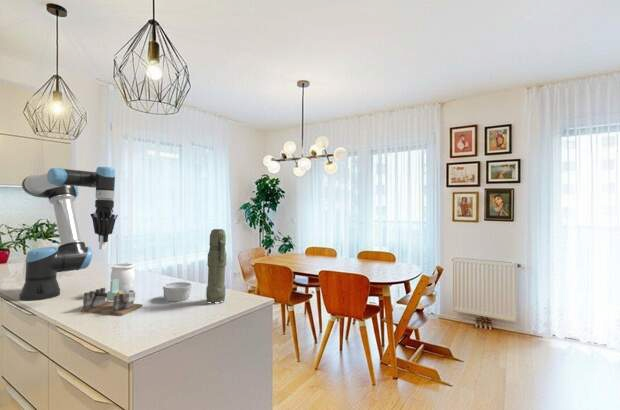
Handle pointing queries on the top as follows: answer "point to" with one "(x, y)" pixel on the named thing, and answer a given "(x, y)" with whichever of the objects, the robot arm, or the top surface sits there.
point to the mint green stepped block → (113, 290)
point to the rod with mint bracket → (109, 302)
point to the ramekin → (177, 291)
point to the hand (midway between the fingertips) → (102, 248)
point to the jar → (123, 276)
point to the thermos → (216, 266)
